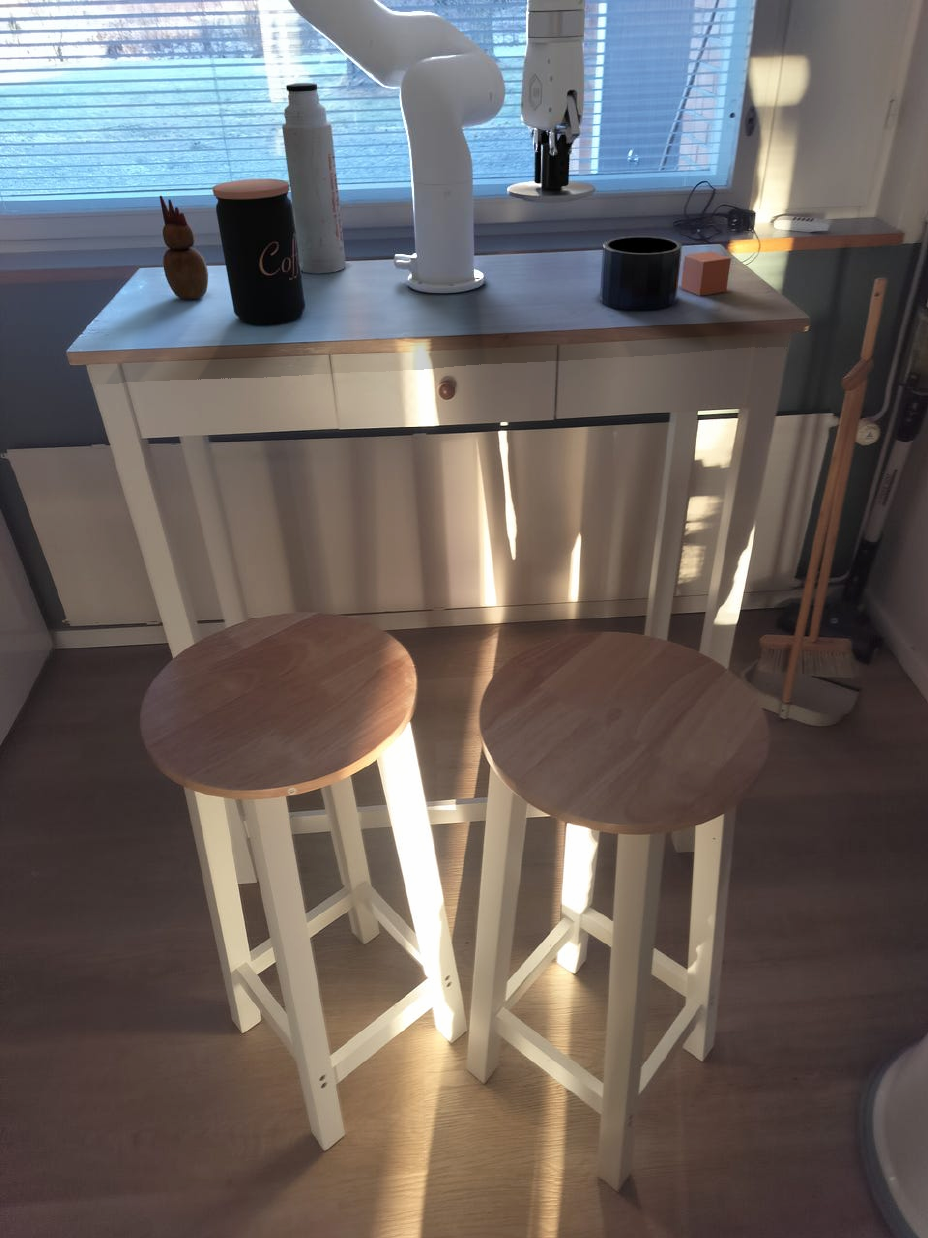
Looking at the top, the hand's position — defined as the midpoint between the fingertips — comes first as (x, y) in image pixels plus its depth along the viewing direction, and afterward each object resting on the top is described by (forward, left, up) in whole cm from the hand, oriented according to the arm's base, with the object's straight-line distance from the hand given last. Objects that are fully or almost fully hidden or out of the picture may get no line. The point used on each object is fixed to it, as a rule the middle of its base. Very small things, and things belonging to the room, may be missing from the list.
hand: (551, 182), depth 123 cm
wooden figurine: (-57, -10, -17) cm, 60 cm away
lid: (0, 0, -1) cm, 1 cm away
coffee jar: (-39, -16, -17) cm, 46 cm away
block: (+22, +13, -17) cm, 31 cm away
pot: (+13, +5, -17) cm, 22 cm away
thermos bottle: (-44, +12, -17) cm, 49 cm away
